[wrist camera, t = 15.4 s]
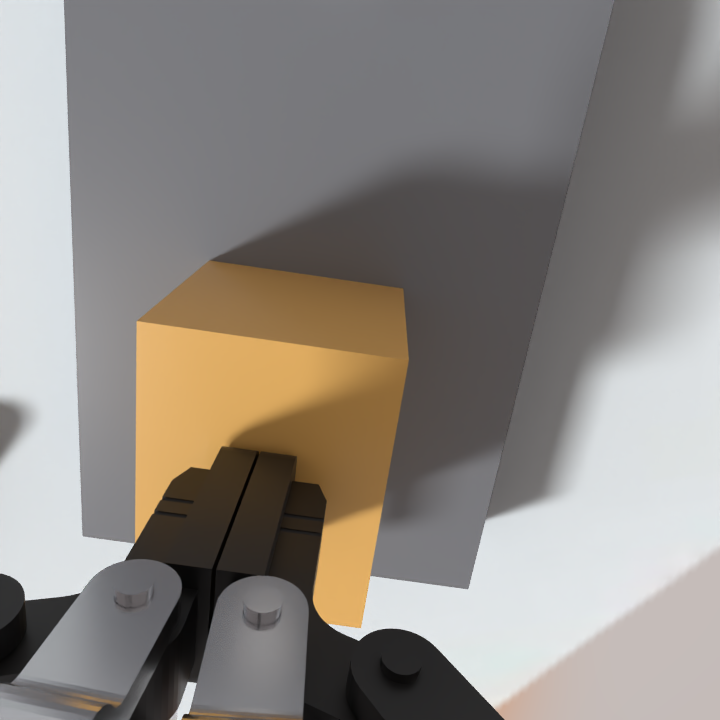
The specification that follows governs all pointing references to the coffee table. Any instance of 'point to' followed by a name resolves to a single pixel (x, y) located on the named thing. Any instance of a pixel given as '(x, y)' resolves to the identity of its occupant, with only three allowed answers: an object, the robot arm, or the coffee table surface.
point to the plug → (278, 399)
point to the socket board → (330, 208)
